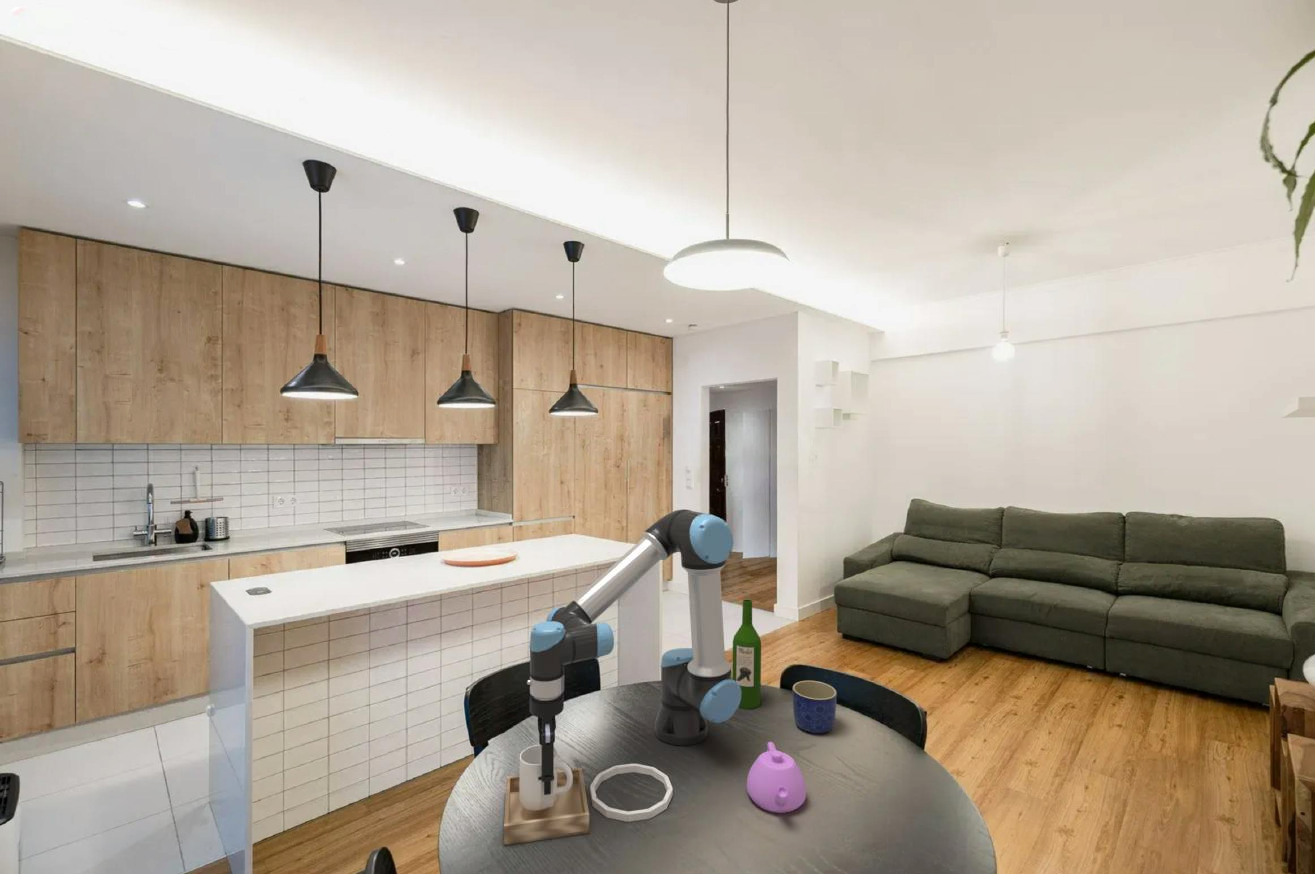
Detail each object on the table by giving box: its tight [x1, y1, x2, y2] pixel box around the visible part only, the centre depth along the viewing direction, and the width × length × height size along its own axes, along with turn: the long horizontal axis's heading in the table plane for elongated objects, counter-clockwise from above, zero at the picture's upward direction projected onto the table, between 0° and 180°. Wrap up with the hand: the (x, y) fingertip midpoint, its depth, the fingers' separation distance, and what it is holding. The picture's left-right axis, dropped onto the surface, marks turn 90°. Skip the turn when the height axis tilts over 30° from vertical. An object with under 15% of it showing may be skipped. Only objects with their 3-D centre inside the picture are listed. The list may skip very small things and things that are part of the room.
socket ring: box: [589, 763, 674, 823], centre depth 138 cm, size 19×19×2 cm
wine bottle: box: [731, 598, 762, 710], centre depth 184 cm, size 9×9×32 cm
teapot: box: [746, 741, 807, 814], centre depth 136 cm, size 14×20×11 cm
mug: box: [519, 744, 573, 811], centre depth 130 cm, size 12×8×10 cm
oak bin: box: [503, 767, 590, 846], centre depth 131 cm, size 18×18×4 cm
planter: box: [792, 680, 838, 734], centre depth 170 cm, size 12×12×11 cm
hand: (546, 793), depth 131 cm, fingers closed on mug, 8 cm apart
